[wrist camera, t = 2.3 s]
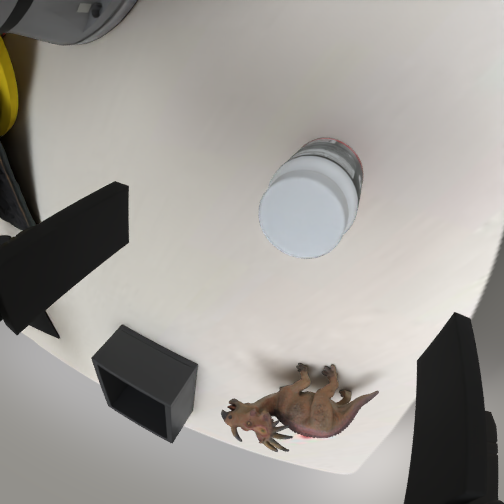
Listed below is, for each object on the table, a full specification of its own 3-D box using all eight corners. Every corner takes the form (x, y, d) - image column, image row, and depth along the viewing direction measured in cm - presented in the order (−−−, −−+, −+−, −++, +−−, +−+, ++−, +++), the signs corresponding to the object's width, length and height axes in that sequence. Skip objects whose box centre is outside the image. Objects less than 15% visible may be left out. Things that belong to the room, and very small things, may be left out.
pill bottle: (341, 216, 22) (320, 284, 16) (283, 181, 23) (236, 234, 16) (376, 161, 19) (375, 208, 13) (313, 123, 20) (276, 150, 13)
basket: (122, 324, 40) (91, 357, 35) (198, 364, 38) (170, 405, 33) (131, 376, 48) (108, 405, 43) (192, 410, 46) (172, 443, 40)
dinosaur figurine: (261, 389, 36) (230, 453, 29) (250, 356, 33) (212, 425, 26) (378, 401, 30) (363, 476, 23) (381, 366, 28) (368, 451, 20)
